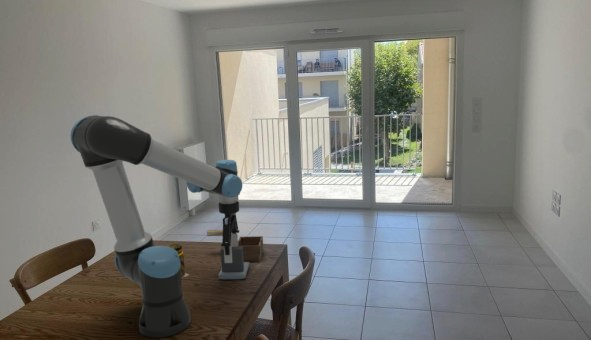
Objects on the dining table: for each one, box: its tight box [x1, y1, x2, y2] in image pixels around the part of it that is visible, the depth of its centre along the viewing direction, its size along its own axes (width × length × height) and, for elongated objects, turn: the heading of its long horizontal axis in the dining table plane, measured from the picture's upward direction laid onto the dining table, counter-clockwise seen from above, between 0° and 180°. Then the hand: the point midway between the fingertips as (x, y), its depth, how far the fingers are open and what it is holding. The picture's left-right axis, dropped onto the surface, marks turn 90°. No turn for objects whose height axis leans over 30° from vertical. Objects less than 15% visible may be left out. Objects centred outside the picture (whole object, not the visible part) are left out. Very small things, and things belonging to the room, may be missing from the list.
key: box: [206, 229, 223, 237], centre depth 189 cm, size 2×8×2 cm, turn 88°
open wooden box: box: [238, 235, 264, 263], centre depth 185 cm, size 12×10×7 cm
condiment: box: [168, 243, 190, 279], centre depth 168 cm, size 7×8×12 cm
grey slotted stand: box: [217, 246, 250, 281], centre depth 168 cm, size 12×10×11 cm
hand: (231, 255), depth 166 cm, fingers open, 13 cm apart
